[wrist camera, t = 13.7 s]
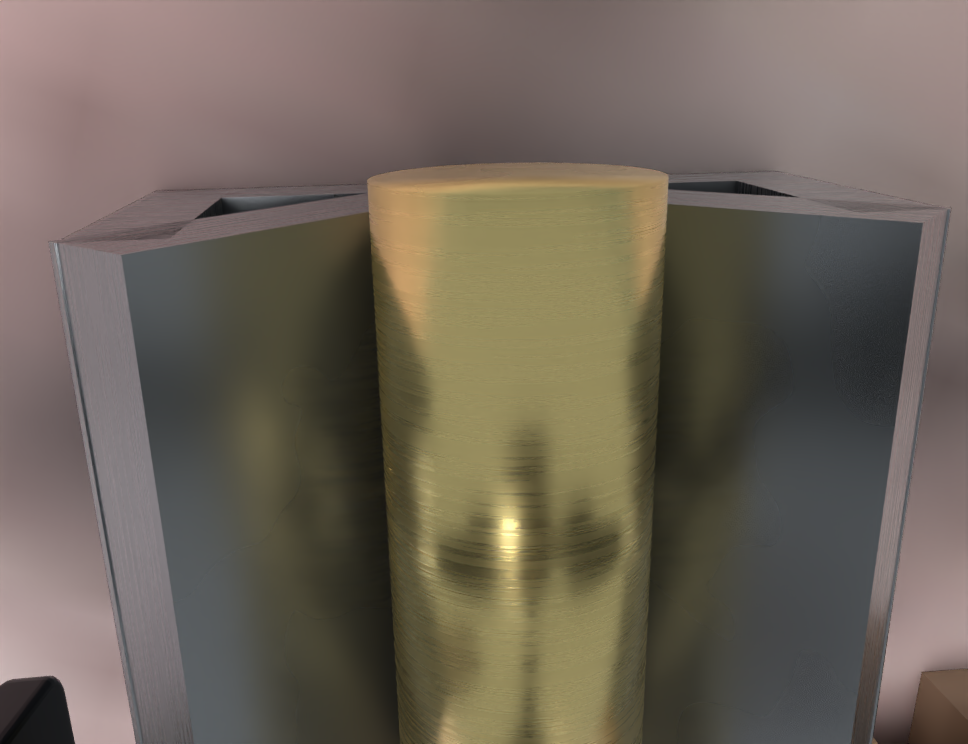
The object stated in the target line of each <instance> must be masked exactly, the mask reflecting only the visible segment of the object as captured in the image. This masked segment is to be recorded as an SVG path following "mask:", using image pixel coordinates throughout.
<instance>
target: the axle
mask: <svg viewBox="0 0 968 744" xmlns="http://www.w3.org/2000/svg"><path fill="white" fill-rule="evenodd" d="M668 180H669V176H668V175H667V174H666V173H664V172H661V171H657V170H652V169H646V168H640V167H631V166H620V165H606V164H587V163H487V164H465V165H449V166H436V167H424V168H415V169H407V170H399V171H393V172H388V173H383V174H379V175H375V176H372V177H370V178H369V179H367V188H368V205H369V222H370V239H371V256H372V273H373V290H374V307H375V324H376V341H377V358H378V375H379V392H380V409H381V427H382V444H383V461H384V478H385V495H386V512H387V529H388V546H389V563H390V580H391V597H392V614H393V631H394V648H395V665H396V682H397V700H398V717H399V734H400V744H642V731H643V710H644V688H645V667H646V646H647V625H648V604H649V582H650V561H651V540H652V519H653V498H654V476H655V455H656V434H657V413H658V392H659V371H660V349H661V328H662V307H663V286H664V265H665V243H666V222H667V201H668Z"/></svg>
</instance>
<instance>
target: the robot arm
mask: <svg viewBox="0 0 968 744" xmlns="http://www.w3.org/2000/svg"><path fill="white" fill-rule="evenodd" d="M0 744H75V741H74V736H73V731H72V726H71V722H70V717H69V712H68V707H67V702H66V697H65V692H64V688H63V686H62V684H61V682H60V680H58V679H57V678H55V677H54V676H43V677H32V678H21V679H12V680H9V681H6V682H5V683H3V684H2V685H0Z"/></svg>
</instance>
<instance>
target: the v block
mask: <svg viewBox="0 0 968 744" xmlns="http://www.w3.org/2000/svg"><path fill="white" fill-rule="evenodd" d="M668 176H669V180H668V201H667V222H666V243H665V265H664V286H663V307H662V328H661V349H660V371H659V392H658V413H657V434H656V455H655V476H654V498H653V519H652V540H651V561H650V582H649V604H648V625H647V646H646V667H645V688H644V710H643V731H642V744H872V741H873V734H874V727H875V720H876V714H877V707H878V700H879V693H880V687H881V680H882V673H883V666H884V660H885V653H886V646H887V639H888V633H889V626H890V619H891V612H892V605H893V599H894V592H895V585H896V578H897V572H898V565H899V558H900V551H901V545H902V538H903V531H904V524H905V518H906V511H907V504H908V497H909V491H910V484H911V477H912V470H913V464H914V457H915V450H916V443H917V436H918V430H919V423H920V416H921V409H922V403H923V396H924V389H925V382H926V376H927V369H928V362H929V355H930V349H931V342H932V335H933V328H934V322H935V315H936V308H937V301H938V294H939V288H940V281H941V274H942V267H943V261H944V254H945V247H946V240H947V234H948V227H949V220H950V213H951V207H939V206H934V205H930V204H925V203H921V202H916V201H911V200H907V199H902V198H898V197H893V196H888V195H884V194H879V193H875V192H870V191H865V190H861V189H856V188H852V187H847V186H842V185H838V184H833V183H829V182H824V181H819V180H815V179H810V178H805V177H801V176H796V175H792V174H787V173H782V172H778V171H763V172H732V173H701V174H670V175H668ZM48 242H49V248H50V254H51V259H52V265H53V271H54V277H55V282H56V288H57V294H58V299H59V305H60V311H61V317H62V322H63V328H64V334H65V340H66V345H67V351H68V357H69V362H70V368H71V374H72V380H73V385H74V391H75V397H76V403H77V408H78V414H79V420H80V425H81V431H82V437H83V443H84V448H85V454H86V460H87V466H88V471H89V477H90V483H91V488H92V494H93V500H94V506H95V511H96V517H97V523H98V529H99V534H100V540H101V546H102V551H103V557H104V563H105V569H106V574H107V580H108V586H109V592H110V597H111V603H112V609H113V614H114V620H115V626H116V632H117V637H118V643H119V649H120V655H121V660H122V666H123V672H124V677H125V683H126V689H127V695H128V700H129V706H130V712H131V718H132V723H133V729H134V735H135V740H136V744H400V734H399V717H398V700H397V682H396V665H395V648H394V631H393V614H392V597H391V580H390V563H389V546H388V529H387V512H386V495H385V478H384V461H383V444H382V427H381V409H380V392H379V375H378V358H377V341H376V324H375V307H374V290H373V273H372V256H371V239H370V222H369V205H368V188H367V184H358V185H327V186H296V187H265V188H234V189H203V190H172V191H154V192H152V193H150V194H148V195H147V196H145V197H143V198H141V199H139V200H137V201H135V202H133V203H131V204H129V205H127V206H125V207H123V208H121V209H119V210H117V211H115V212H114V213H112V214H110V215H108V216H106V217H104V218H102V219H100V220H98V221H96V222H94V223H92V224H90V225H88V226H86V227H84V228H82V229H81V230H79V231H77V232H75V233H73V234H71V235H69V236H67V237H65V238H63V239H61V240H55V241H48Z"/></svg>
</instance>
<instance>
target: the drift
mask: <svg viewBox="0 0 968 744" xmlns="http://www.w3.org/2000/svg"><path fill="white" fill-rule="evenodd" d="M908 744H968V669H956V670H942V671H929V672H922V674H921V679H920V684H919V689H918V694H917V699H916V704H915V709H914V714H913V719H912V724H911V729H910V734H909V739H908Z"/></svg>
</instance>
